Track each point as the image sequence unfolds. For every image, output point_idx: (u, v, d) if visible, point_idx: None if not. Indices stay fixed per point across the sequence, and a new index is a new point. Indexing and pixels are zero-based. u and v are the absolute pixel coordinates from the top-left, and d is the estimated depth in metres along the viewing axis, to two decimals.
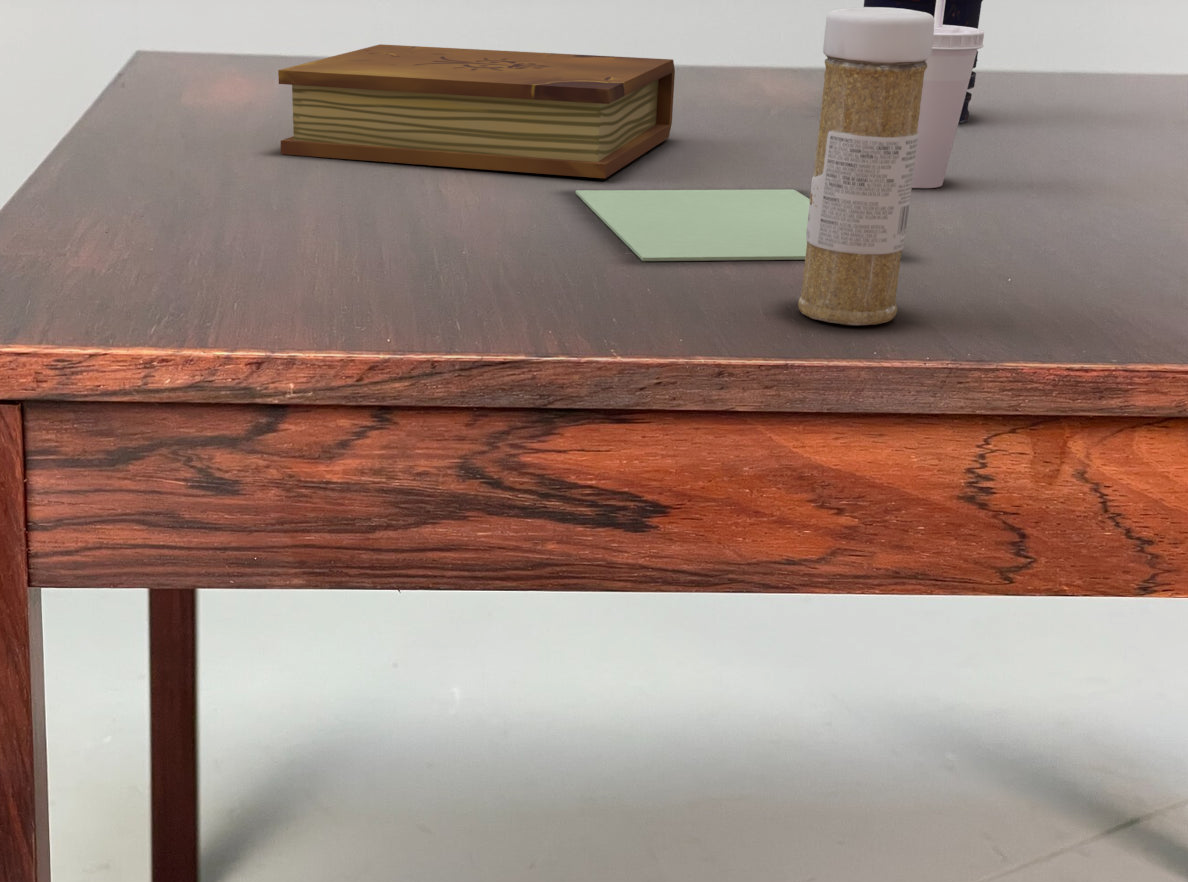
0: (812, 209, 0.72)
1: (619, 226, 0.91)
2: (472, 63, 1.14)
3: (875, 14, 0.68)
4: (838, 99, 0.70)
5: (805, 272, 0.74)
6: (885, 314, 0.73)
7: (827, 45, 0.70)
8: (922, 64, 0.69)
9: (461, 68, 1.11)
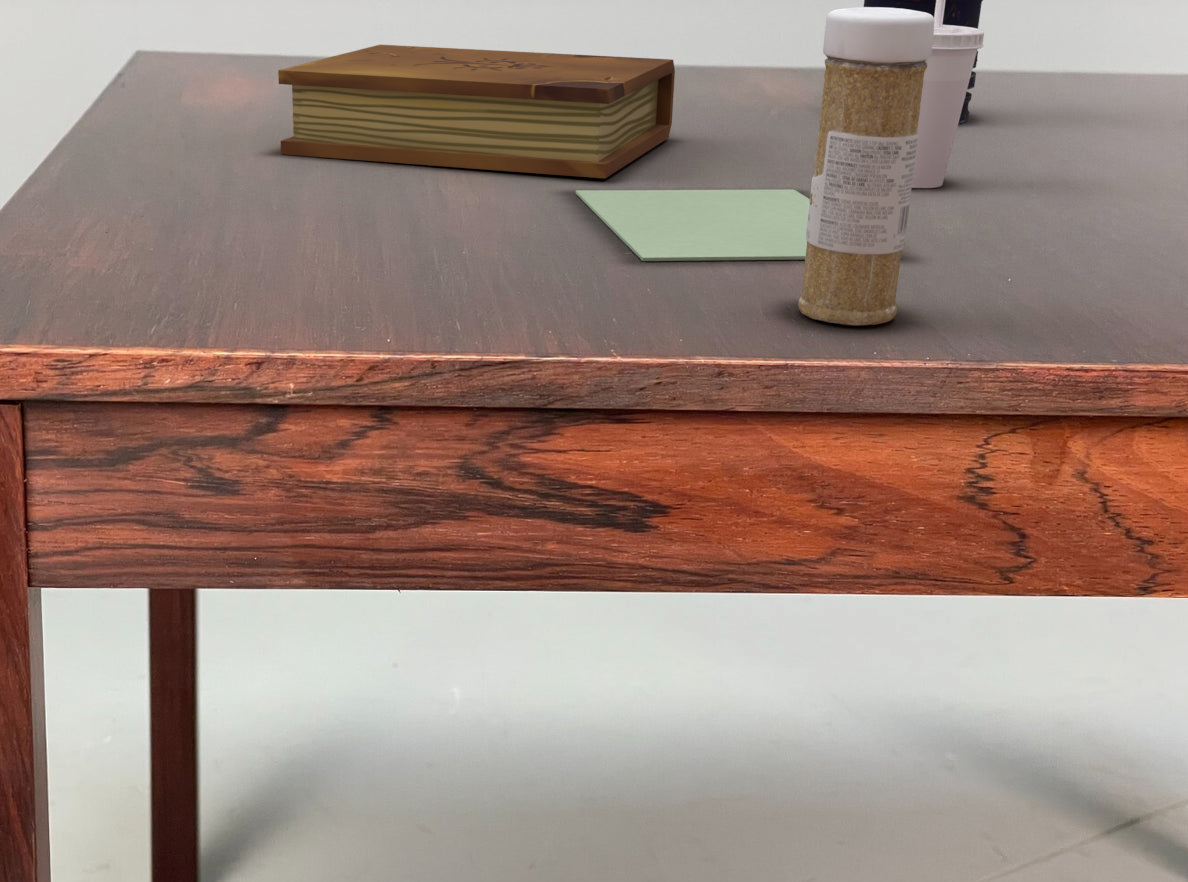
0: (812, 209, 0.72)
1: (619, 226, 0.91)
2: (472, 63, 1.14)
3: (875, 14, 0.68)
4: (838, 99, 0.70)
5: (805, 272, 0.74)
6: (885, 314, 0.73)
7: (827, 45, 0.70)
8: (922, 64, 0.69)
9: (461, 68, 1.11)
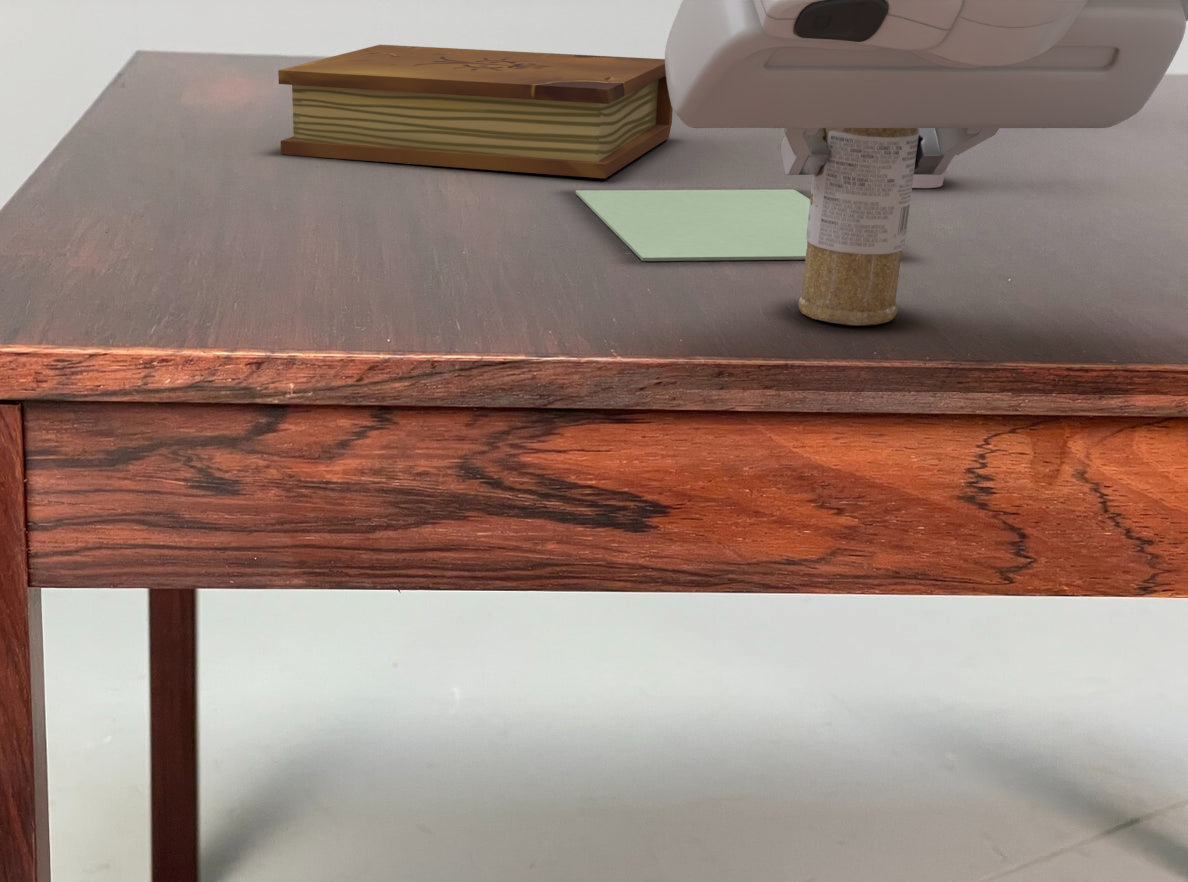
0: (813, 209, 0.72)
1: (619, 226, 0.91)
2: (472, 63, 1.14)
3: None
4: None
5: (805, 272, 0.74)
6: (885, 314, 0.73)
7: None
8: None
9: (461, 68, 1.11)
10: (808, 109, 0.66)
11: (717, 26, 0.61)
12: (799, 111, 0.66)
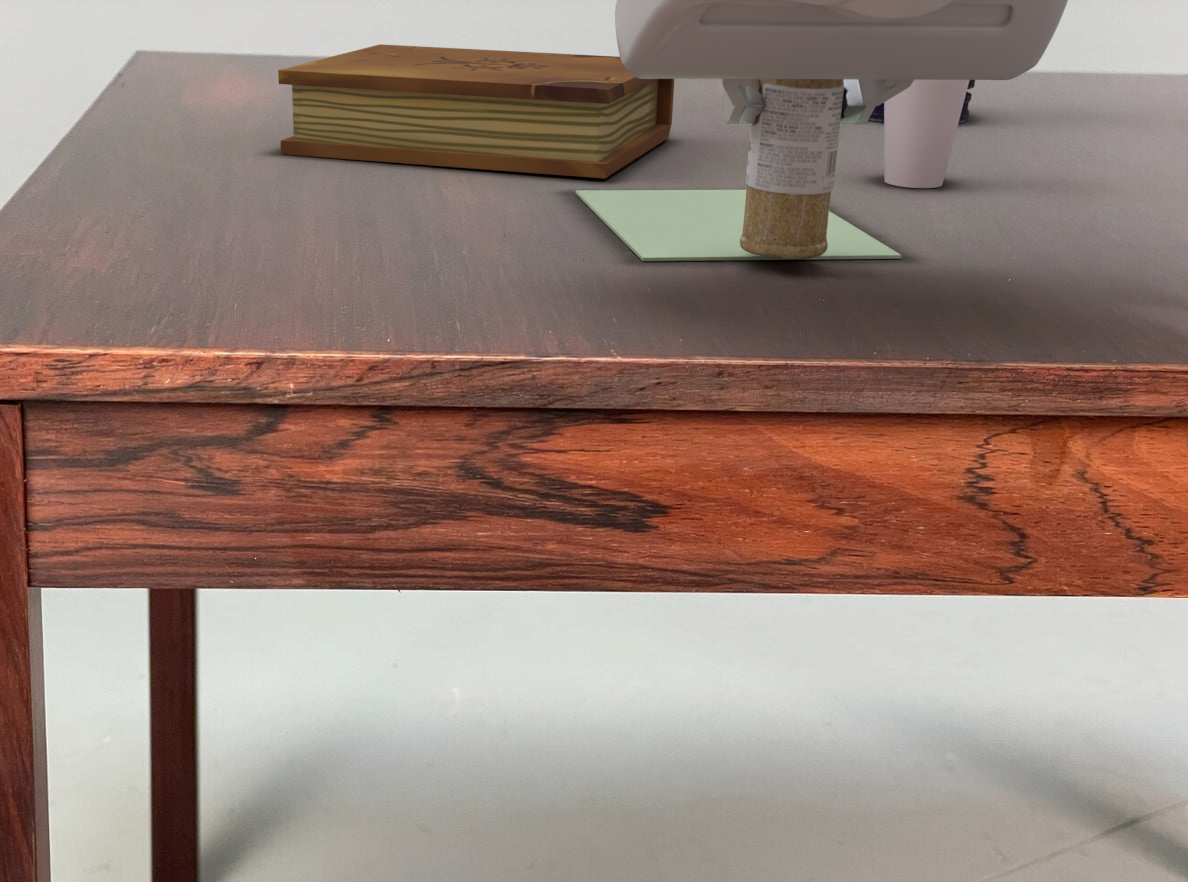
0: (751, 154, 0.81)
1: (619, 226, 0.91)
2: (472, 63, 1.14)
3: None
4: None
5: (745, 212, 0.83)
6: (816, 249, 0.82)
7: None
8: None
9: (461, 68, 1.11)
10: (741, 61, 0.74)
11: None
12: (733, 63, 0.74)
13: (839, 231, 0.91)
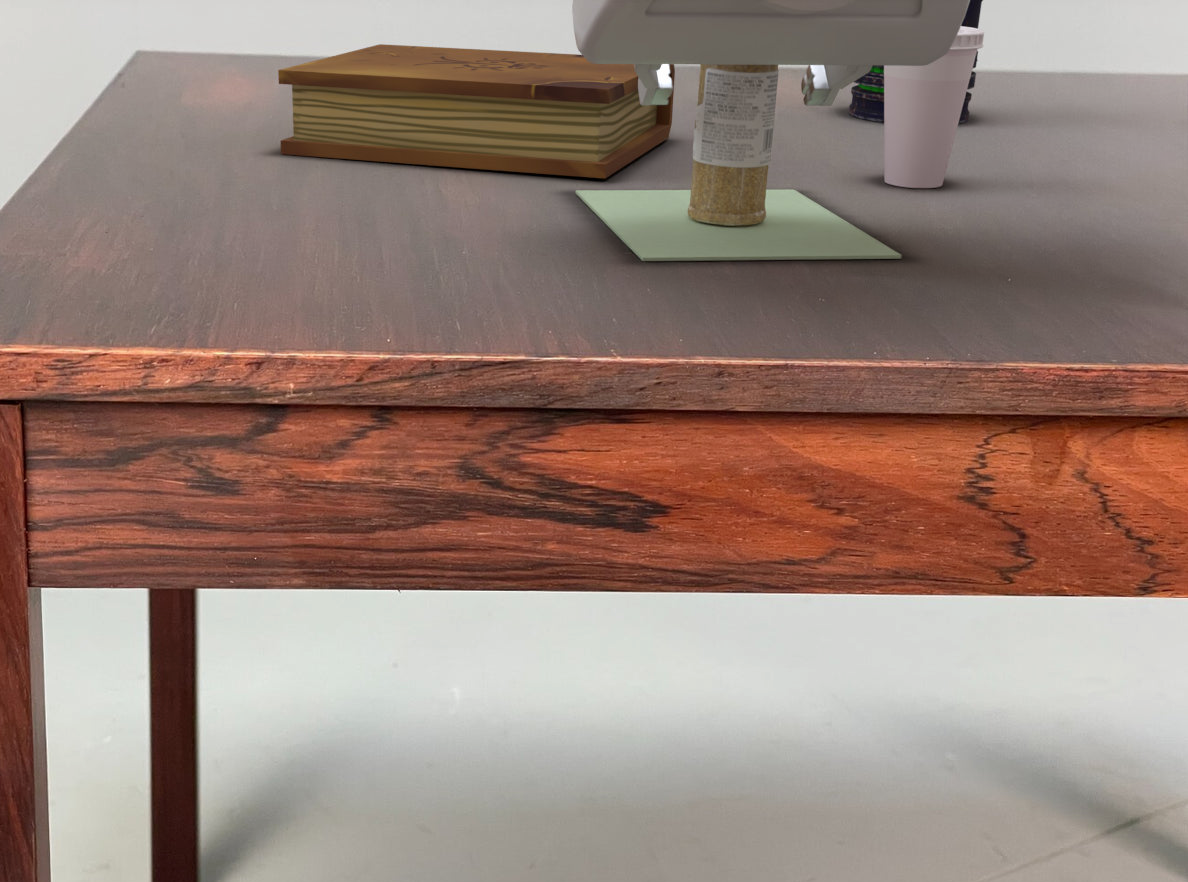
0: (696, 132, 0.91)
1: (619, 226, 0.91)
2: (472, 63, 1.14)
3: None
4: None
5: (692, 184, 0.92)
6: (755, 217, 0.91)
7: None
8: None
9: (461, 68, 1.11)
10: (683, 48, 0.84)
11: None
12: (676, 50, 0.84)
13: (839, 231, 0.91)
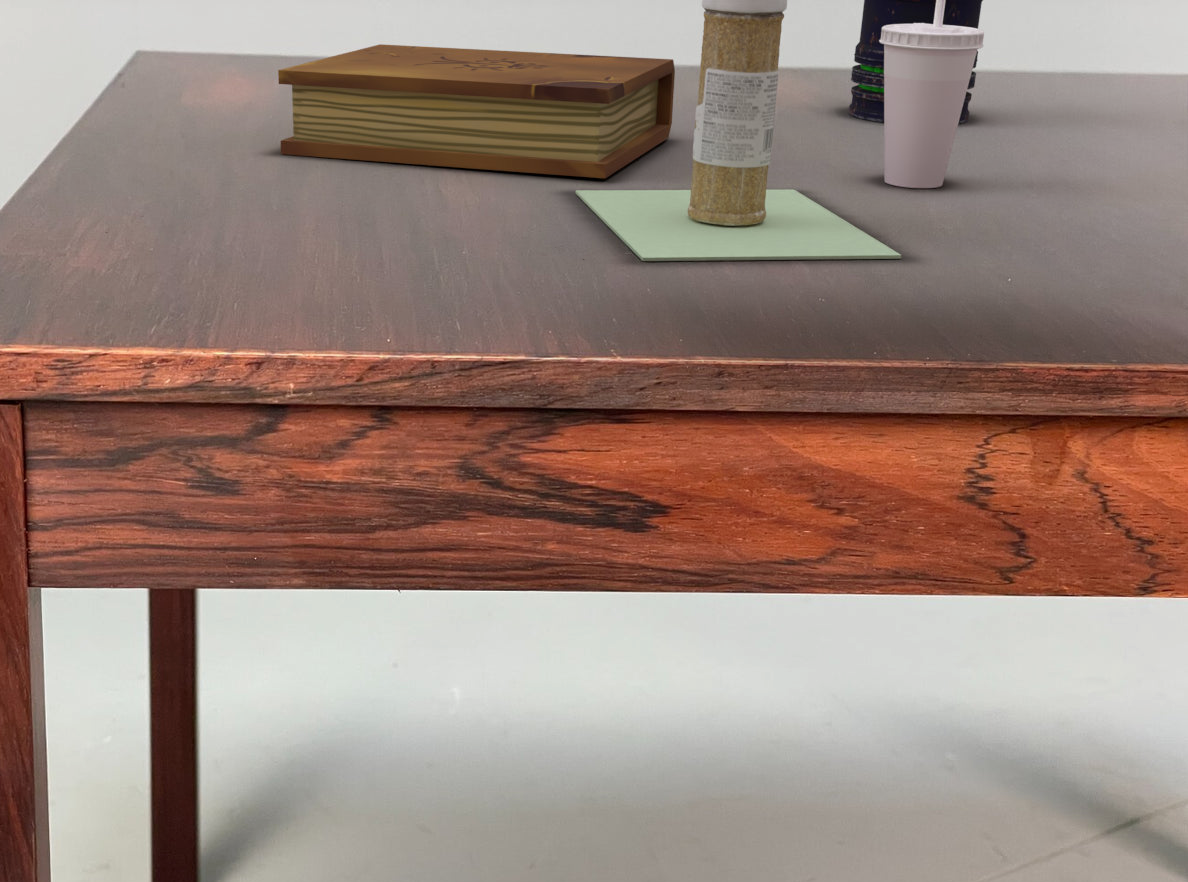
0: (696, 132, 0.91)
1: (619, 226, 0.91)
2: (472, 63, 1.14)
3: None
4: (713, 43, 0.88)
5: (692, 184, 0.92)
6: (755, 217, 0.91)
7: (704, 0, 0.88)
8: (779, 15, 0.88)
9: (461, 68, 1.11)
10: None
11: None
12: None
13: (839, 231, 0.91)
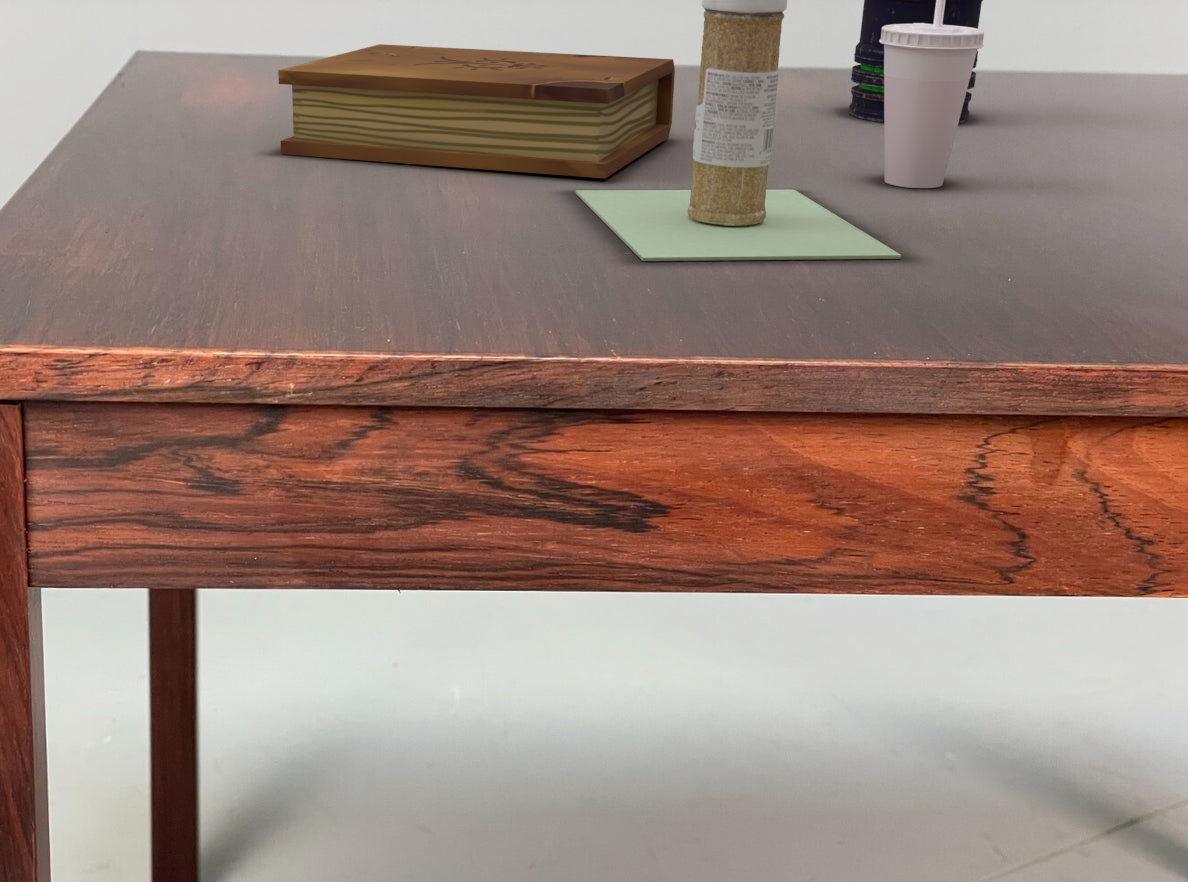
0: (696, 132, 0.91)
1: (619, 226, 0.91)
2: (472, 63, 1.14)
3: None
4: (713, 43, 0.88)
5: (692, 184, 0.92)
6: (755, 217, 0.91)
7: (704, 0, 0.88)
8: (779, 15, 0.88)
9: (461, 68, 1.11)
10: None
11: None
12: None
13: (839, 231, 0.91)
